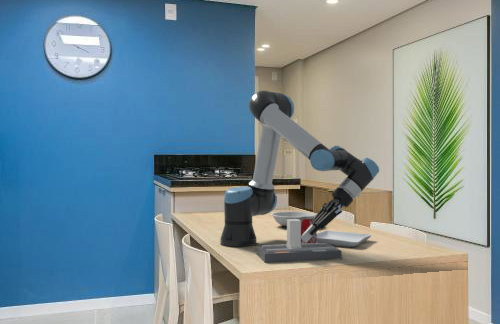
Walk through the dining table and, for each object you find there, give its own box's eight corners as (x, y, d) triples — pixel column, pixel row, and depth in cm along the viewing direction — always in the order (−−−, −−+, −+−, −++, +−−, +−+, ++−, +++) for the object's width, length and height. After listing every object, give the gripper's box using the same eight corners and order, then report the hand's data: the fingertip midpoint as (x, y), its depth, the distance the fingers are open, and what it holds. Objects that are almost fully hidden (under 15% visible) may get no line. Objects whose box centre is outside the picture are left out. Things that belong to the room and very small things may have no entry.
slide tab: (286, 246, 167) (286, 219, 166) (296, 246, 167) (296, 218, 167) (290, 249, 161) (290, 221, 161) (301, 249, 161) (301, 221, 161)
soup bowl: (316, 230, 222) (316, 217, 222) (267, 229, 226) (267, 216, 226) (316, 223, 246) (316, 211, 246) (273, 222, 249) (273, 210, 249)
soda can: (307, 249, 177) (307, 219, 177) (295, 246, 183) (295, 217, 182) (320, 247, 181) (320, 217, 181) (308, 244, 187) (308, 215, 187)
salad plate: (372, 241, 196) (372, 233, 196) (357, 250, 177) (357, 241, 177) (325, 237, 207) (325, 229, 206) (307, 245, 188) (307, 236, 188)
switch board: (256, 254, 168) (256, 244, 168) (328, 251, 173) (328, 241, 173) (264, 262, 155) (264, 251, 155) (341, 258, 161) (341, 248, 161)
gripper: (360, 202, 161) (316, 250, 158) (345, 198, 174) (304, 243, 171) (346, 187, 160) (301, 236, 157) (332, 185, 173) (290, 230, 170)
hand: (302, 240), depth 164 cm, fingers closed
